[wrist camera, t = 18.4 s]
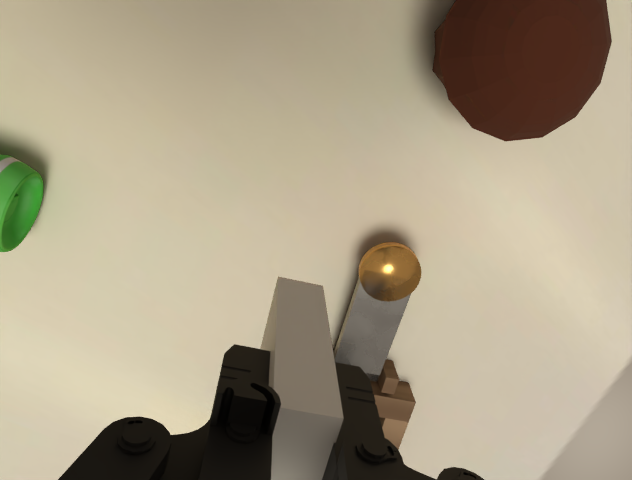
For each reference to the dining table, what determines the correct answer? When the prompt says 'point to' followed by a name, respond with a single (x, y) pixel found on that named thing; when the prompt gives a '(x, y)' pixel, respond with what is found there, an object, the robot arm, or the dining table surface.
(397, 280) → the bar
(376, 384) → the socket block
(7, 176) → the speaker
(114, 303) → the dining table surface
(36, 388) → the dining table surface
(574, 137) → the dining table surface
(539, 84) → the muffin
